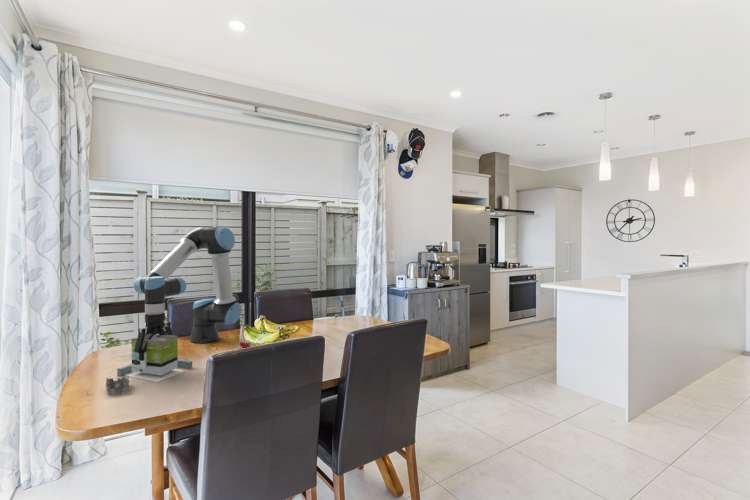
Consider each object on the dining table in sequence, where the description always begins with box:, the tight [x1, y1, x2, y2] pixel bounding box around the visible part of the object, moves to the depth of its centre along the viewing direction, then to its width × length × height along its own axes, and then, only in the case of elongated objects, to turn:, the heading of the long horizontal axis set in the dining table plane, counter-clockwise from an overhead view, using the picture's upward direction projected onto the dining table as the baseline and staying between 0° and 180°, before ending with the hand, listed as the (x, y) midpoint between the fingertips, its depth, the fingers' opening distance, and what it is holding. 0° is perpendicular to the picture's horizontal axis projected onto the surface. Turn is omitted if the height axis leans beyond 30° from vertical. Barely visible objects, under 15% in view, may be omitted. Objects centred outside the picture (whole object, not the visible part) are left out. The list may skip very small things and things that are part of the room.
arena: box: [116, 358, 193, 383], centre depth 166 cm, size 20×22×3 cm
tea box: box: [131, 334, 179, 375], centre depth 163 cm, size 15×10×15 cm
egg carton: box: [105, 376, 130, 396], centre depth 147 cm, size 11×8×4 cm
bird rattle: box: [237, 341, 251, 349], centre depth 177 cm, size 6×11×9 cm
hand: (155, 363), depth 164 cm, fingers closed on tea box, 10 cm apart
